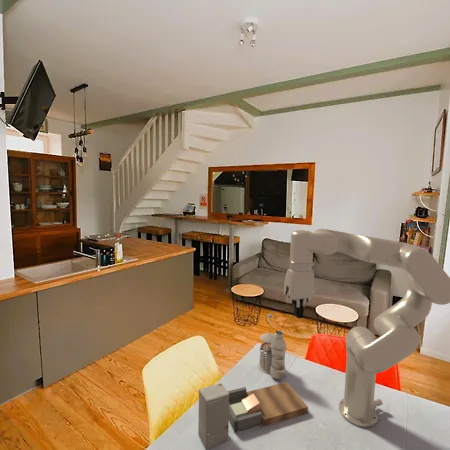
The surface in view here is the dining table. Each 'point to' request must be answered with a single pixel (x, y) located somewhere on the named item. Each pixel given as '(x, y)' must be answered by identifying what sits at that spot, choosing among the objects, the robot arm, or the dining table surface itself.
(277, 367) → the metal bottle
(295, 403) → the walnut plate
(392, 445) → the dining table surface
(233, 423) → the box
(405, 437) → the dining table surface
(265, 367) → the french press
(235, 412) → the tile
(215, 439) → the skincare box
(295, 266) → the robot arm
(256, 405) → the tile
